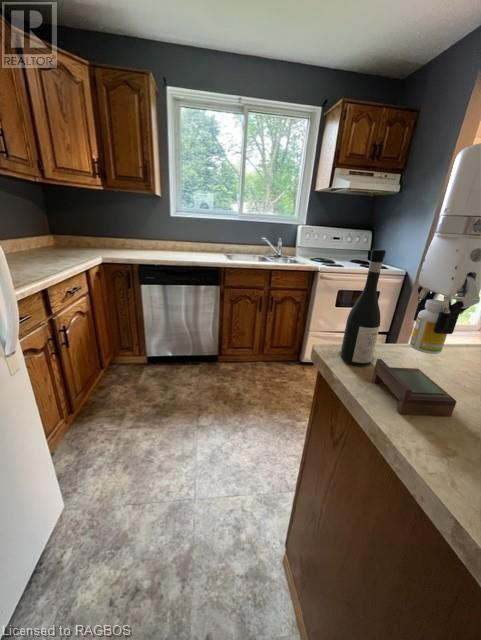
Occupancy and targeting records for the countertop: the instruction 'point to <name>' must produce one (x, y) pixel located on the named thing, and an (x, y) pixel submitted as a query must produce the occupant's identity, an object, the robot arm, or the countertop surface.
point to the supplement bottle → (428, 329)
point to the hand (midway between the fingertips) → (431, 326)
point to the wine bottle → (364, 318)
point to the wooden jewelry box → (414, 391)
